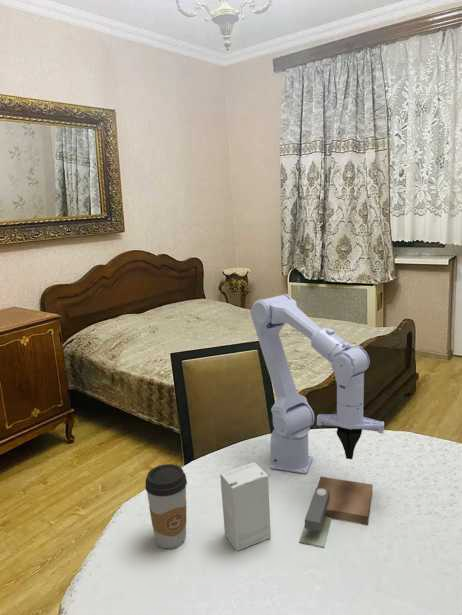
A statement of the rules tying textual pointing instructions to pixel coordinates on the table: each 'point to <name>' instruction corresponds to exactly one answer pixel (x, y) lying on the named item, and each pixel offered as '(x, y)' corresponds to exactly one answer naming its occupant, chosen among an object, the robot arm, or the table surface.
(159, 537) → the coffee cup
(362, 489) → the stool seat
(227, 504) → the skincare box
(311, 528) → the gray rectangular bar
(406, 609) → the table surface
